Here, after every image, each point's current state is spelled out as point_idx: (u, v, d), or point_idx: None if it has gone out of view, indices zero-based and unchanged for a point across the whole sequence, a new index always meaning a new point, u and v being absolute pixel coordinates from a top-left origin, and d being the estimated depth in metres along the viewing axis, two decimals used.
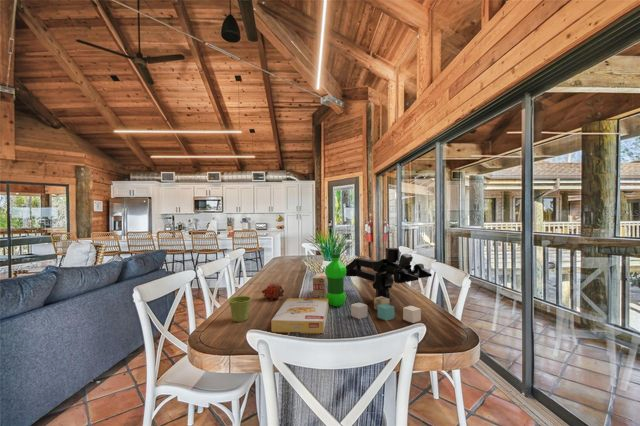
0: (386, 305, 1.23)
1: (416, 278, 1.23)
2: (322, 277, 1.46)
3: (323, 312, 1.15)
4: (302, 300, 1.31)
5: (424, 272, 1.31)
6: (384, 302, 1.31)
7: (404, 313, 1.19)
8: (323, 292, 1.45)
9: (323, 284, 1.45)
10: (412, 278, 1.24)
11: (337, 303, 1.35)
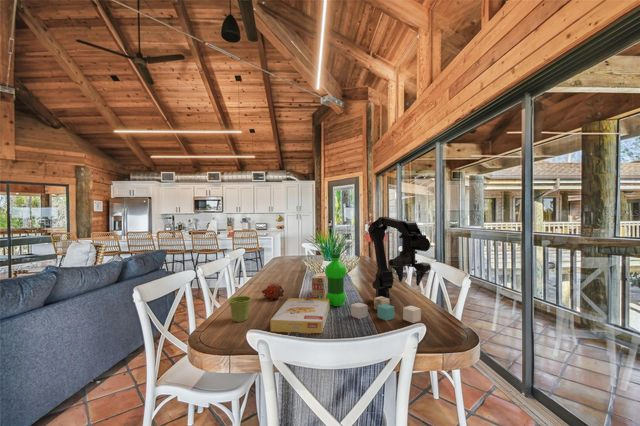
0: (386, 305, 1.23)
1: None
2: (321, 277, 1.47)
3: (323, 312, 1.15)
4: (303, 300, 1.31)
5: None
6: (384, 302, 1.31)
7: (404, 313, 1.19)
8: (322, 292, 1.45)
9: (322, 284, 1.45)
10: None
11: (337, 303, 1.35)
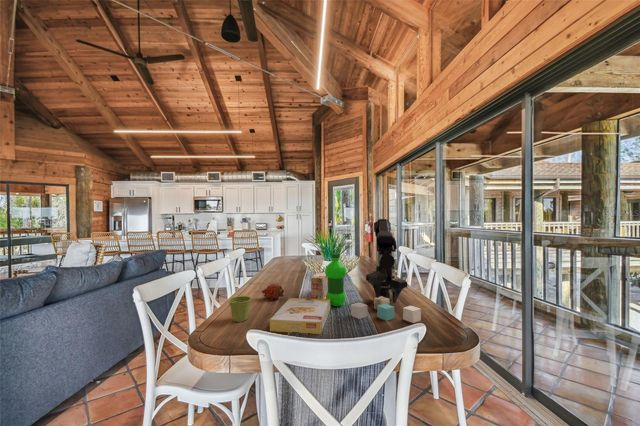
0: (386, 305, 1.23)
1: None
2: (320, 277, 1.47)
3: (322, 312, 1.14)
4: (304, 300, 1.31)
5: None
6: (384, 302, 1.31)
7: (404, 313, 1.19)
8: (321, 292, 1.45)
9: (321, 284, 1.45)
10: None
11: (337, 303, 1.35)
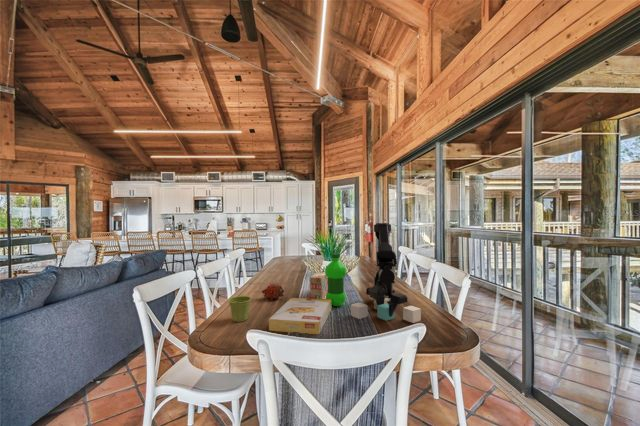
0: (386, 305, 1.23)
1: None
2: (319, 277, 1.47)
3: (322, 313, 1.14)
4: (305, 300, 1.31)
5: None
6: (384, 302, 1.31)
7: (404, 313, 1.19)
8: (320, 292, 1.46)
9: (320, 284, 1.46)
10: None
11: (337, 303, 1.35)
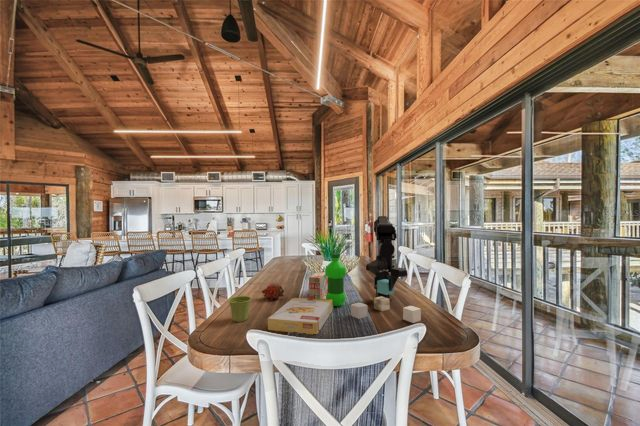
0: (386, 280, 1.23)
1: None
2: (318, 276, 1.48)
3: (321, 313, 1.14)
4: (306, 300, 1.31)
5: None
6: (384, 302, 1.31)
7: (404, 313, 1.19)
8: (319, 291, 1.46)
9: (319, 283, 1.46)
10: None
11: (337, 303, 1.35)
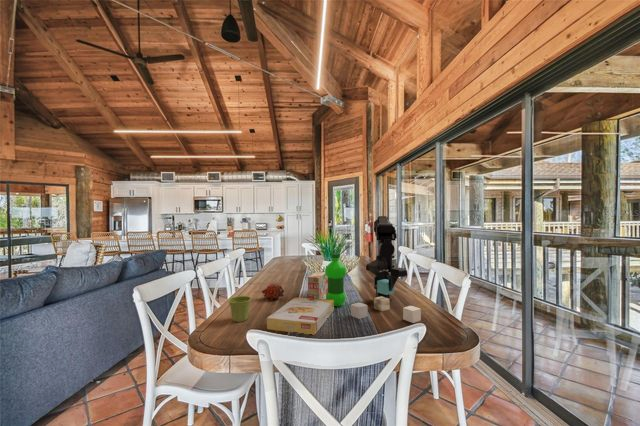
0: (386, 280, 1.23)
1: None
2: (317, 276, 1.48)
3: (320, 313, 1.13)
4: (307, 300, 1.31)
5: None
6: (384, 302, 1.31)
7: (404, 313, 1.19)
8: (317, 291, 1.47)
9: (317, 283, 1.47)
10: None
11: (337, 303, 1.35)
